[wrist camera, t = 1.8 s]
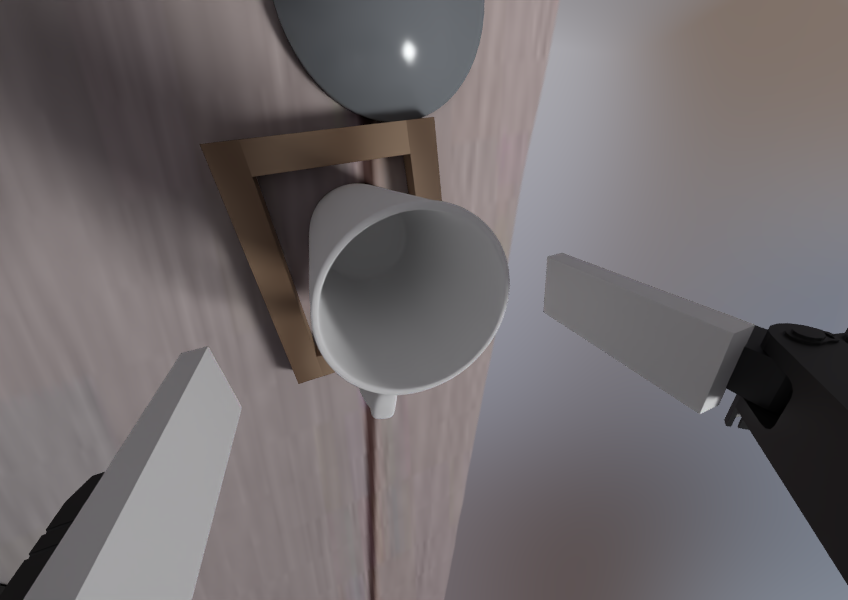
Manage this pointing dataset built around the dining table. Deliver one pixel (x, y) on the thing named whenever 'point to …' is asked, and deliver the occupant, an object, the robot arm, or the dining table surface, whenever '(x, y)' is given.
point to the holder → (299, 151)
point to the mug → (401, 290)
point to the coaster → (385, 51)
